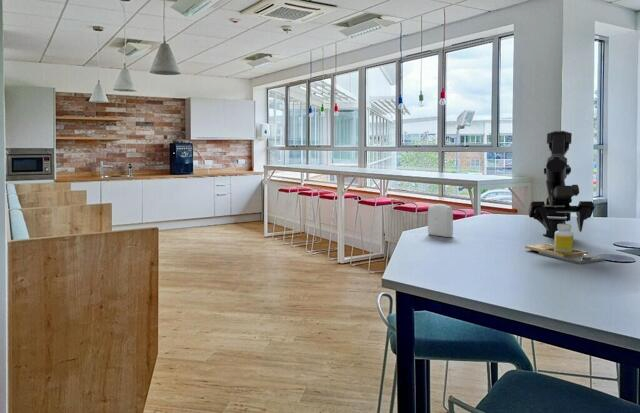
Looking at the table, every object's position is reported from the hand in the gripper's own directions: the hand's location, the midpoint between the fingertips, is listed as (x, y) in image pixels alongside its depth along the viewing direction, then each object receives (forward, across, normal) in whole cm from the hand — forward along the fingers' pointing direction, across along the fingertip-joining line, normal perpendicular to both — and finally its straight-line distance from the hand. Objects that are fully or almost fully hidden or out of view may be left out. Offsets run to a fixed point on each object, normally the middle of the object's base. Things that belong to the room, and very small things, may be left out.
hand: (565, 230), depth 165 cm
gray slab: (+5, 0, +7) cm, 8 cm away
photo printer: (-18, -36, +30) cm, 51 cm away
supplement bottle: (+5, 0, +7) cm, 8 cm away
